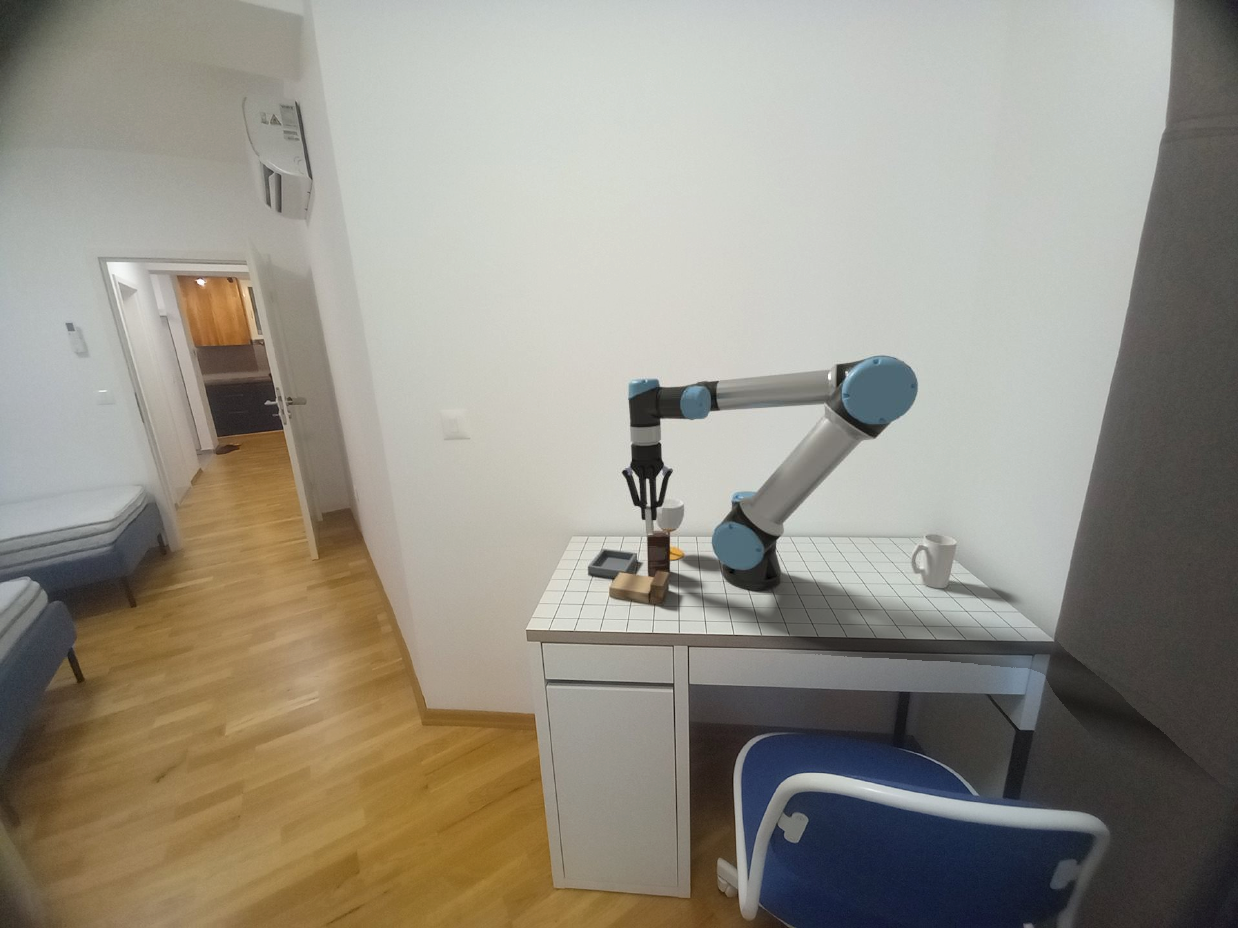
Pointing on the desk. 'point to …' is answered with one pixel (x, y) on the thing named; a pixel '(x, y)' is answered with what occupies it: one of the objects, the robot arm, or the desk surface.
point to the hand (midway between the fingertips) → (649, 531)
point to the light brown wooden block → (631, 587)
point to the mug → (934, 560)
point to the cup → (671, 521)
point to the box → (658, 552)
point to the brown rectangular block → (659, 587)
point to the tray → (612, 563)
